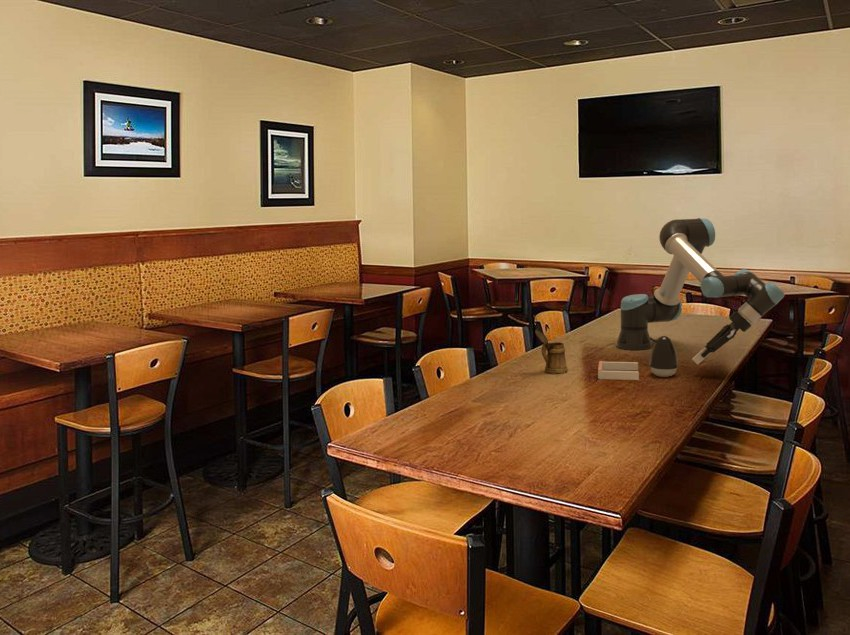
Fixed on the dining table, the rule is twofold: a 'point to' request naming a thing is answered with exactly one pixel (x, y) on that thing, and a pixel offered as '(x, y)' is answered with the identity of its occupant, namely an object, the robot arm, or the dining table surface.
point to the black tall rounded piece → (663, 357)
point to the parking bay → (618, 374)
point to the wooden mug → (553, 355)
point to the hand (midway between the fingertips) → (694, 361)
